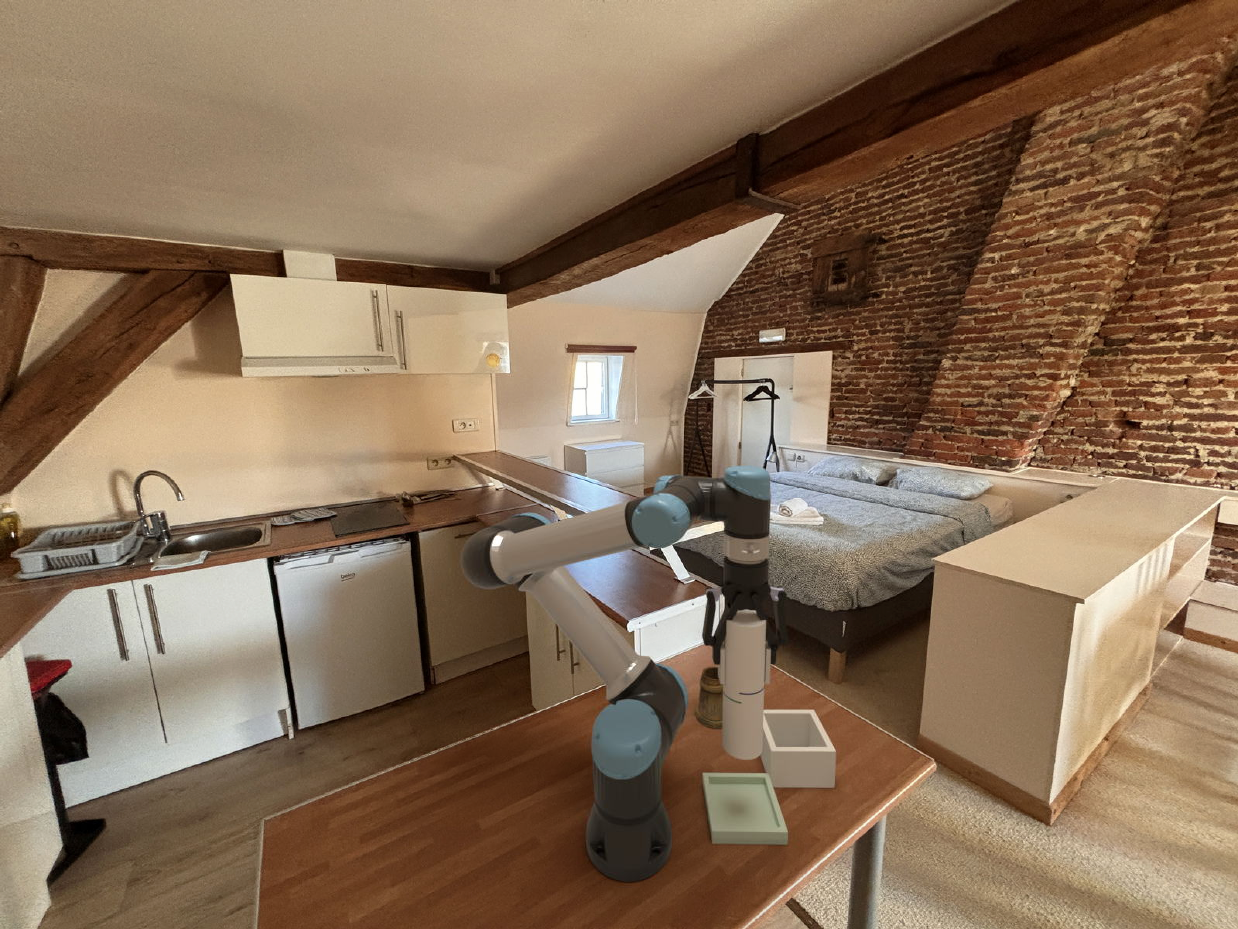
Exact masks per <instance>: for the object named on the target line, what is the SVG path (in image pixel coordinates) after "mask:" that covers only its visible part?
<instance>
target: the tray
mask: <svg viewBox="0 0 1238 929" xmlns="http://www.w3.org/2000/svg"><path fill="white" fill-rule="evenodd" d="M702 788H703V795H704V801H705V807H706V813H707V814H706V815H707V820H708V826H709V827H708V828H709V833H710V839H711V844H714V845H715V844H717V845H778V846H779V845H782V846H783V845H788V844H789V843H788V842H789V831H788V828H787V825H786V822H785V819H784V816H783V813H782V810H781V807H780V804H779V801H778V798H777V794H776V791H775V789H774V788H775V787H773V785H772V782H771V779H770V776H769V773H766V772H765V773H763V772H761V773H759V772H758V773H757V772H754V773H753V772H702Z"/></svg>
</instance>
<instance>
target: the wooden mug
mask: <svg viewBox="0 0 1238 929" xmlns="http://www.w3.org/2000/svg"><path fill="white" fill-rule="evenodd" d="M699 686H700V687H699V696H698V701H697V702H698V703H697V705H696V710H695V717H696V719H697V721H698V722H699V723H700V724H701V725H702V726H703V725H704V726H705V727H708V728H711V729H717V730H718V729H722V721H723V684H720V681H719V677H718V666H707V667H705V668H704V669H702V672H701V675H700V678H699Z"/></svg>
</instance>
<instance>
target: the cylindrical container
mask: <svg viewBox="0 0 1238 929" xmlns="http://www.w3.org/2000/svg"><path fill="white" fill-rule="evenodd" d="M765 642H767V639H766V620H760V619H759V617H758V615H757V613H756V611H755V610H747V609H746V610H742V611H737V613H736V616H734V618H733V620H727V628H726V636H725V639H724V641H723V645H724V648H725V684H723V721H722V728H721V729H722V730H721V731H722V732H721V733H722V737H721V744H722V747H723V749H724V751H725V752H726V753H727V754H728V755H730V756H731V757H733V758H735V759H738V760H742V761H743V760H744V761H749V760H754V759H757V758H758V757H761V756H760V754H761V753H762V748H763V711H764V710H765V709H764V708H765V705H764V703H765V700H764V699H765V682H764V677H765Z"/></svg>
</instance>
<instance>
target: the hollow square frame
mask: <svg viewBox="0 0 1238 929" xmlns="http://www.w3.org/2000/svg"><path fill="white" fill-rule="evenodd" d="M759 757H760V758H761V761H762V765H763V769H764V771H765V773H769V776H770V779H771V782H772V785H773V788H802V789H803V788H815V789H816V788H817V789H819V788H820V789H821V788H822V789H823V788H826V789H829V788H831V789H834V788H835V787H836V786H835V785H836V783H835V782H836V781H835V780H836V763H837V751H836V749H835V747H834V745H833V743H832V741H831V739H830V737H829V735H828V734H827V731H826V730H825V728H824V726H823V724H822V722H821V720H820V719H819V717H818V715H817V713H816V711H815V709H764V711H763V748H762V753H761V754H760V756H759Z"/></svg>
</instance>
